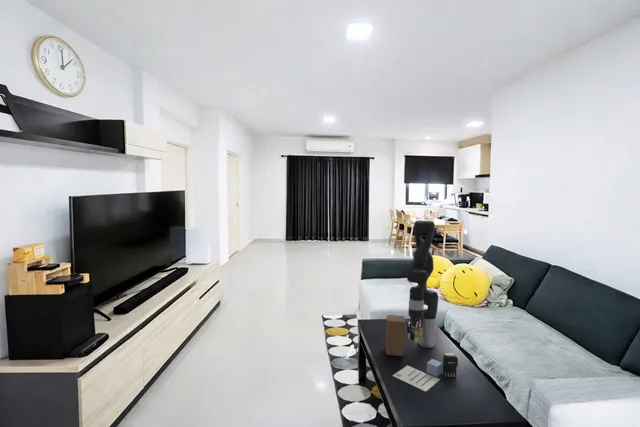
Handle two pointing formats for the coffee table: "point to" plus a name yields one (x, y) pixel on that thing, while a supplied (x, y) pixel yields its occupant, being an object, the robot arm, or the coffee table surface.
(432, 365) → the blue cube
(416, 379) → the letter
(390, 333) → the wooden block
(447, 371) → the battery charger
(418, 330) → the oak block
